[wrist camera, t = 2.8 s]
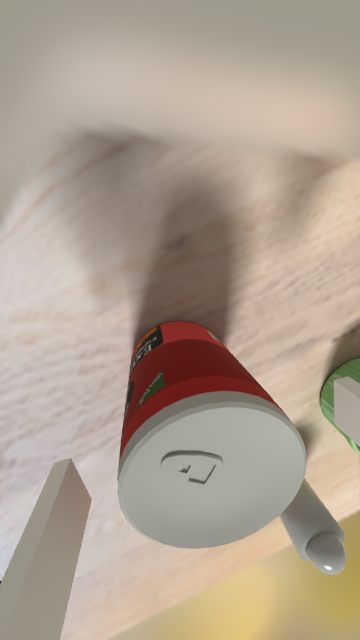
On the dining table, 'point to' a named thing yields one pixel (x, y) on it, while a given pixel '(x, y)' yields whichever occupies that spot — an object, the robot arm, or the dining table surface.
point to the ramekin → (354, 370)
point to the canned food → (202, 443)
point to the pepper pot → (314, 531)
